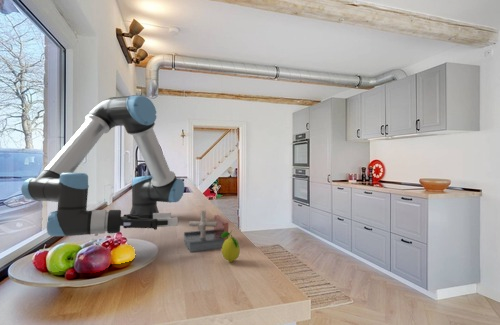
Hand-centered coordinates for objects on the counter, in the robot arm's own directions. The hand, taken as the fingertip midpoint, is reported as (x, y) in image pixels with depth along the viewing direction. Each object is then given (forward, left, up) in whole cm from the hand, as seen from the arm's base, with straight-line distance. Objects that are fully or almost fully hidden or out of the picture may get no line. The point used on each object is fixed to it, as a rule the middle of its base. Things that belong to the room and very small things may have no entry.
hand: (174, 218), depth 94 cm
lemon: (+21, +14, -10) cm, 27 cm away
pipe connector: (+1, +10, -8) cm, 13 cm away
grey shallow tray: (+1, +11, -10) cm, 15 cm away
